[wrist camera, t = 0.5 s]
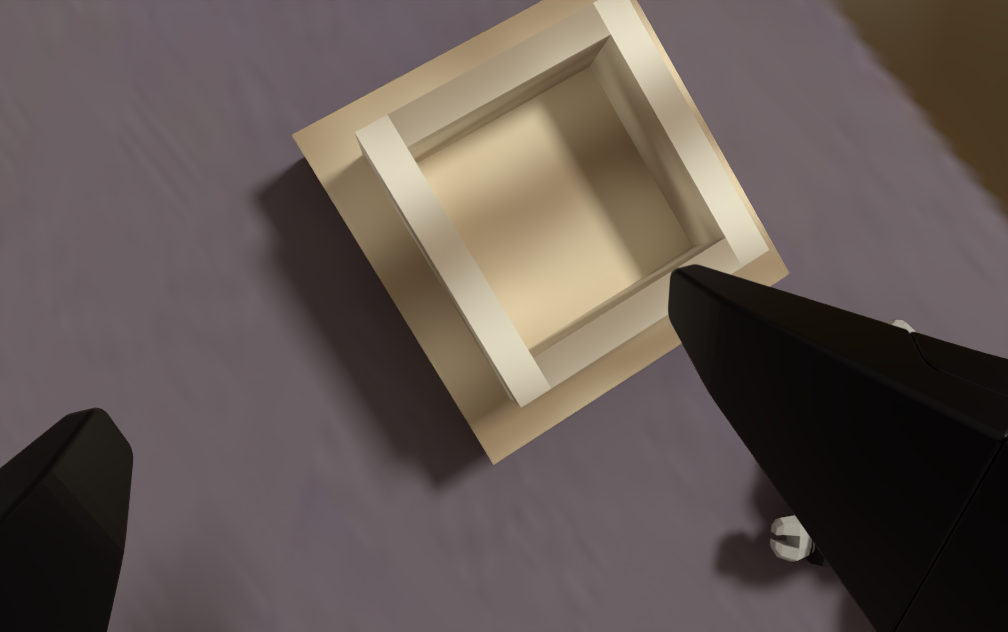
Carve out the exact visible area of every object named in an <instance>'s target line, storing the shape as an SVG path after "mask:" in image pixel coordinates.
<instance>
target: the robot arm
mask: <svg viewBox="0 0 1008 632" xmlns="http://www.w3.org/2000/svg"><path fill="white" fill-rule="evenodd" d="M668 316H669V319H670V322H671V324H672V326H673V328H674V330H675V332H676V334H677V335H678V337H679V339H680V341H681V343H682V345H683V347H684V348H685V350H686V352H687V354H688V356H689V358H690V359H691V361H692V363H693V365H694V367H695V369H696V371H697V372H698V374H699V376H700V378H701V380H702V382H703V383H704V385H705V387H706V389H707V390H708V392H709V394H710V395H711V397H712V398H713V400H714V401H715V403H716V404H717V405H718V407H719V408H720V410H721V411H722V413H723V414H724V415H725V417H726V418H727V420H728V421H729V423H730V424H731V425H732V427H733V428H734V430H735V431H736V433H737V434H738V435H739V437H740V438H741V440H742V441H743V442H744V444H745V445H746V447H747V448H748V450H749V451H750V452H751V454H752V455H753V457H754V458H755V460H756V461H757V462H758V464H759V465H760V467H761V468H762V470H763V471H764V472H765V474H766V475H767V477H768V478H769V479H770V481H771V482H772V484H773V485H774V487H775V488H776V489H777V491H778V492H779V494H780V495H781V497H782V498H783V499H784V501H785V502H786V504H787V505H788V507H789V508H790V509H791V511H792V512H793V514H794V515H795V516H796V518H797V519H798V521H799V522H800V524H801V525H802V526H803V528H804V529H805V531H806V532H807V534H808V535H809V536H810V538H811V539H812V541H813V542H814V544H815V545H816V546H817V548H818V549H819V551H820V552H821V554H822V555H823V556H824V558H825V559H826V561H827V562H828V563H829V565H830V566H831V568H832V569H833V571H834V572H835V573H836V575H837V576H838V578H839V579H840V581H841V582H842V583H843V585H844V586H845V588H846V589H847V591H848V592H849V593H850V595H851V596H852V598H853V599H854V600H855V602H856V603H857V605H858V606H859V608H860V609H861V610H862V612H863V613H864V615H865V616H866V618H867V619H868V620H869V622H870V623H871V625H872V626H873V628H874V629H875V630H876V632H1008V359H1006V358H1002V357H999V356H995V355H991V354H987V353H984V352H980V351H977V350H973V349H970V348H967V347H963V346H960V345H956V344H953V343H950V342H946V341H943V340H940V339H936V338H933V337H930V336H927V335H924V334H921V333H917V332H911V333H909V331H908V330H907V329H904V328H901V327H898V326H895V325H891V324H888V323H885V322H882V321H878V320H875V319H872V318H869V317H866V316H862V315H859V314H856V313H853V312H850V311H846V310H843V309H840V308H837V307H833V306H830V305H827V304H824V303H821V302H817V301H814V300H811V299H808V298H805V297H801V296H798V295H795V294H792V293H788V292H785V291H782V290H779V289H776V288H772V287H769V286H766V285H763V284H760V283H756V282H753V281H750V280H747V279H744V278H740V277H737V276H734V275H731V274H728V273H724V272H721V271H718V270H715V269H712V268H708V267H705V266H702V265H699V264H692V265H687V266H683V267H679V268H676V269H674V270H673V271H672V272H671V275H670V282H669V297H668ZM132 468H133V453H132V449H131V446H130V444H129V443H128V441H127V440H126V438H125V437H124V436H123V434H122V433H121V432H120V430H119V429H118V427H117V426H116V425H115V423H114V422H113V420H112V419H111V418H110V416H109V415H108V414H107V413H106V412H105V411H104V410H103V409H100V408H91V409H87V410H83V411H78V412H74V413H70V414H68V415H66V416H65V417H63V418H62V419H61V420H59V421H58V422H57V423H56V424H54V425H53V426H52V427H51V428H50V429H48V430H47V431H46V432H45V433H43V434H42V435H41V436H40V437H38V438H37V439H36V440H35V441H33V442H32V443H31V444H30V445H28V446H27V447H26V448H25V449H23V450H22V451H21V452H20V453H18V454H17V455H16V456H15V457H13V458H12V459H11V460H10V461H9V462H7V463H6V464H5V465H4V466H2V467H1V468H0V632H107V630H108V625H109V620H110V616H111V611H112V607H113V602H114V598H115V593H116V589H117V584H118V579H119V575H120V570H121V565H122V560H123V555H124V548H125V541H126V532H127V521H128V511H129V500H130V489H131V479H132Z"/></svg>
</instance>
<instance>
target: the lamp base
mask: <svg viewBox="0 0 1008 632" xmlns="http://www.w3.org/2000/svg"><path fill="white" fill-rule="evenodd" d="M292 136H293V138H294V140H295V141H296V143H297V144H298V146H299V148H300V149H301V151H302V153H303V154H304V156H305V158H306V159H307V161H308V162H309V164H310V166H311V167H312V169H313V171H314V172H315V174H316V176H317V177H318V179H319V180H320V182H321V184H322V185H323V187H324V189H325V190H326V192H327V193H328V195H329V197H330V198H331V200H332V202H333V203H334V205H335V207H336V208H337V210H338V211H339V213H340V215H341V216H342V218H343V220H344V221H345V223H346V225H347V226H348V228H349V229H350V231H351V233H352V234H353V236H354V238H355V239H356V241H357V242H358V244H359V246H360V247H361V249H362V251H363V252H364V254H365V256H366V257H367V259H368V260H369V262H370V264H371V265H372V267H373V269H374V270H375V272H376V274H377V275H378V277H379V278H380V280H381V282H382V283H383V285H384V287H385V288H386V290H387V291H388V293H389V295H390V296H391V298H392V300H393V301H394V303H395V305H396V306H397V308H398V309H399V311H400V313H401V314H402V316H403V318H404V319H405V321H406V323H407V324H408V326H409V327H410V329H411V331H412V332H413V334H414V336H415V337H416V339H417V340H418V342H419V344H420V345H421V347H422V349H423V350H424V352H425V354H426V355H427V357H428V358H429V360H430V362H431V363H432V365H433V367H434V368H435V370H436V371H437V373H438V375H439V376H440V378H441V380H442V381H443V383H444V385H445V386H446V388H447V389H448V391H449V393H450V394H451V396H452V398H453V399H454V401H455V403H456V404H457V406H458V407H459V409H460V411H461V412H462V414H463V416H464V417H465V419H466V420H467V422H468V424H469V425H470V427H471V429H472V430H473V432H474V434H475V435H476V437H477V438H478V440H479V442H480V443H481V445H482V447H483V448H484V450H485V452H486V453H487V455H488V456H489V458H490V460H491V461H492V463H493V465H494V464H496V463H497V462H499V461H500V460H502V459H503V458H505V457H507V456H508V455H510V454H511V453H513V452H514V451H516V450H517V449H519V448H520V447H522V446H524V445H525V444H527V443H528V442H530V441H531V440H533V439H534V438H536V437H538V436H539V435H541V434H542V433H544V432H545V431H547V430H548V429H550V428H551V427H553V426H555V425H556V424H558V423H559V422H561V421H562V420H564V419H565V418H567V417H568V416H570V415H572V414H573V413H575V412H576V411H578V410H579V409H581V408H582V407H584V406H586V405H587V404H589V403H590V402H592V401H593V400H595V399H596V398H598V397H599V396H601V395H603V394H604V393H606V392H607V391H609V390H610V389H612V388H613V387H615V386H616V385H618V384H620V383H621V382H623V381H624V380H626V379H627V378H629V377H630V376H632V375H633V374H635V373H637V372H638V371H640V370H641V369H643V368H644V367H646V366H647V365H649V364H651V363H652V362H654V361H655V360H657V359H658V358H660V357H661V356H663V355H664V354H666V353H668V352H669V351H671V350H672V349H674V348H675V347H677V346H678V345H680V344H681V341H680V339H679V337H678V335H677V334H676V332H675V330H674V328H673V326H672V324H671V322H670V319H669V316H668V297H669V282H670V275H671V272H672V271H673V270H674V269H676V268H679V267H683V266H687V265H692V264H699V265H702V266H705V267H708V268H712V269H715V270H718V271H721V272H724V273H728V274H731V275H734V276H737V277H740V278H744V279H747V280H750V281H753V282H756V283H760V284H763V285H766V286H769V287H770V286H771V285H773V284H774V283H776V282H777V281H779V280H781V279H782V278H784V277H785V276H787V275H788V274H789V272H788V270H787V268H786V266H785V265H784V263H783V261H782V259H781V257H780V256H779V254H778V252H777V250H776V248H775V247H774V245H773V243H772V241H771V240H770V238H769V236H768V234H767V232H766V231H765V229H764V227H763V225H762V223H761V222H760V220H759V218H758V216H757V215H756V213H755V211H754V209H753V207H752V206H751V204H750V202H749V200H748V198H747V197H746V195H745V193H744V191H743V189H742V188H741V186H740V184H739V182H738V181H737V179H736V177H735V175H734V173H733V172H732V170H731V168H730V166H729V164H728V163H727V161H726V159H725V157H724V156H723V154H722V152H721V150H720V148H719V147H718V145H717V143H716V141H715V139H714V138H713V136H712V134H711V132H710V130H709V129H708V127H707V125H706V123H705V122H704V120H703V118H702V116H701V114H700V113H699V111H698V109H697V107H696V105H695V104H694V102H693V100H692V98H691V97H690V95H689V93H688V91H687V89H686V88H685V86H684V84H683V82H682V80H681V79H680V77H679V75H678V73H677V71H676V70H675V68H674V66H673V64H672V63H671V61H670V59H669V57H668V55H667V54H666V52H665V50H664V48H663V46H662V45H661V43H660V41H659V39H658V38H657V36H656V34H655V32H654V30H653V29H652V27H651V25H650V23H649V21H648V20H647V18H646V16H645V14H644V12H643V11H642V9H641V7H640V5H639V4H638V2H637V0H543V1H541V2H539V3H537V4H535V5H534V6H532V7H530V8H528V9H526V10H524V11H522V12H520V13H519V14H517V15H515V16H513V17H511V18H509V19H507V20H506V21H504V22H502V23H500V24H498V25H496V26H494V27H492V28H491V29H489V30H487V31H485V32H483V33H481V34H479V35H478V36H476V37H474V38H472V39H470V40H468V41H466V42H464V43H463V44H461V45H459V46H457V47H455V48H453V49H451V50H450V51H448V52H446V53H444V54H442V55H440V56H438V57H436V58H435V59H433V60H431V61H429V62H427V63H425V64H423V65H422V66H420V67H418V68H416V69H414V70H412V71H410V72H408V73H407V74H405V75H403V76H401V77H399V78H397V79H395V80H394V81H392V82H390V83H388V84H386V85H384V86H382V87H380V88H379V89H377V90H375V91H373V92H371V93H369V94H367V95H366V96H364V97H362V98H360V99H358V100H356V101H354V102H352V103H351V104H349V105H347V106H345V107H343V108H341V109H339V110H338V111H336V112H334V113H332V114H330V115H328V116H326V117H324V118H323V119H321V120H319V121H317V122H315V123H313V124H311V125H310V126H308V127H306V128H304V129H302V130H300V131H298V132H297V133H295V134H293V135H292Z"/></svg>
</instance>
